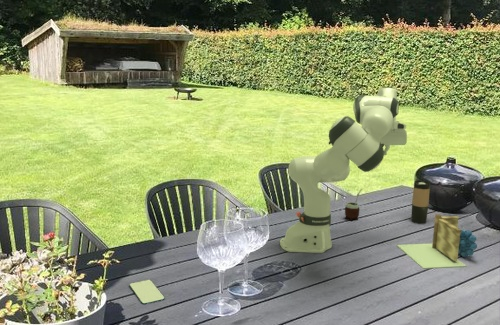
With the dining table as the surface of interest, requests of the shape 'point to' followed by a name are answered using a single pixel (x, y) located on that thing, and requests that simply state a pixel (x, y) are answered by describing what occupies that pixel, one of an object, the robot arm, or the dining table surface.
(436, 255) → the board
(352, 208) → the mate gourd
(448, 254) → the gate panel
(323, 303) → the dining table surface
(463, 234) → the grapes
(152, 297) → the smartphone
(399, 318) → the dining table surface
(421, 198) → the travel mug
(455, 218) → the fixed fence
